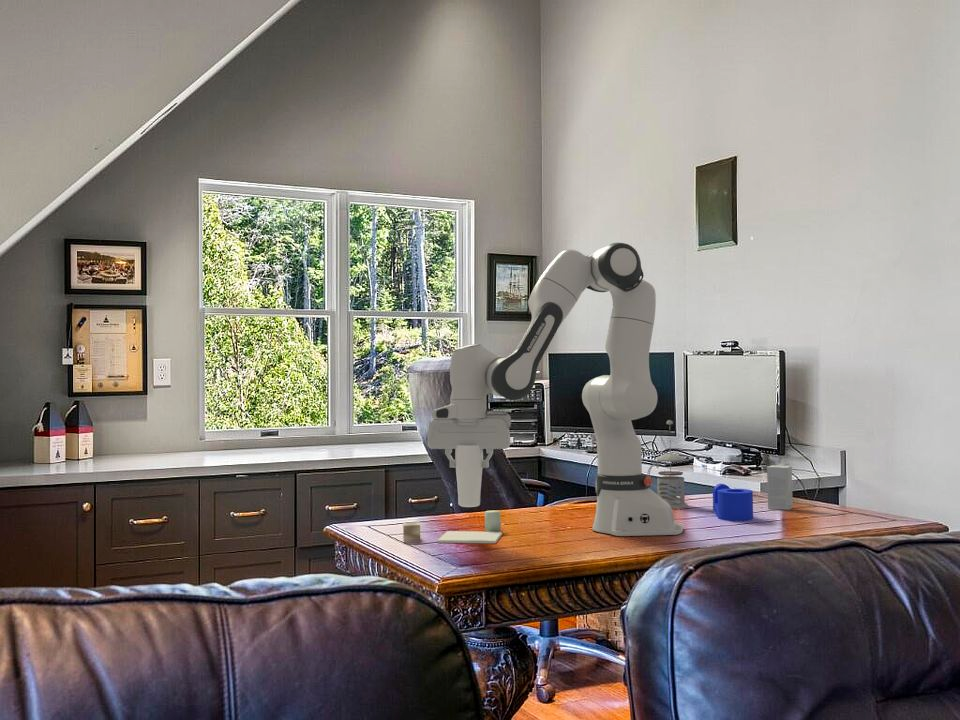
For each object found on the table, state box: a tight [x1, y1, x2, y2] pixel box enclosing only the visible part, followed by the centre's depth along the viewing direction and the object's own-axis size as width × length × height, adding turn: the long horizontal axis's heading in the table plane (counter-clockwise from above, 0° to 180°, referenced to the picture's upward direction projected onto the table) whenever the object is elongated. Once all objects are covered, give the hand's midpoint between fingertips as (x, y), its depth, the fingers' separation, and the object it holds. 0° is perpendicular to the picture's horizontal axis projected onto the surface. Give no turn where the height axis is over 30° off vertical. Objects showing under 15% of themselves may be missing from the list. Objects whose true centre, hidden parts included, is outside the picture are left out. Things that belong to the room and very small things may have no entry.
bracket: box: [712, 483, 754, 522], centre depth 260 cm, size 20×9×8 cm, turn 0°
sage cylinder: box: [484, 510, 502, 532], centre depth 242 cm, size 4×4×5 cm
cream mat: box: [437, 530, 503, 544], centre depth 233 cm, size 14×12×1 cm
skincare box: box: [766, 464, 794, 511], centre depth 270 cm, size 6×4×12 cm
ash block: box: [402, 521, 421, 543], centre depth 232 cm, size 4×4×4 cm
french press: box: [647, 419, 689, 509], centre depth 279 cm, size 10×12×25 cm
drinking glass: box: [454, 445, 484, 508], centre depth 233 cm, size 7×7×15 cm
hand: (469, 467), depth 233 cm, fingers closed on drinking glass, 7 cm apart
